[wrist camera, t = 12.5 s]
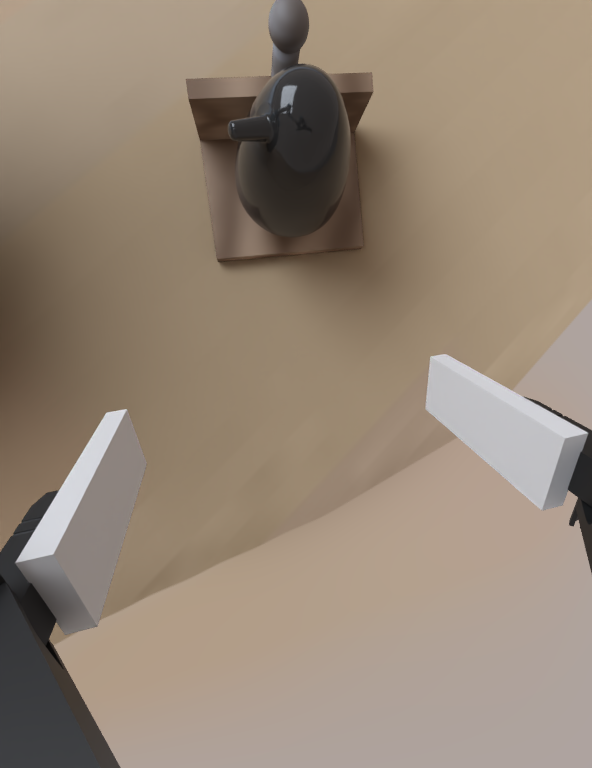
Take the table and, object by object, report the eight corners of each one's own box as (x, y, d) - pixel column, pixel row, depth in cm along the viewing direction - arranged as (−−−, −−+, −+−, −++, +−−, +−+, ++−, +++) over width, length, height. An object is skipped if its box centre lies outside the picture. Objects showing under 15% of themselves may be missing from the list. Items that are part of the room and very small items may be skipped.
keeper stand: (218, 261, 36) (195, 212, 23) (198, 124, 34) (160, -20, 21) (360, 248, 38) (419, 195, 24) (349, 117, 36) (406, -21, 22)
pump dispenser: (219, 165, 34) (191, 25, 19) (313, 131, 35) (356, -30, 20) (258, 262, 36) (259, 205, 21) (347, 228, 36) (411, 148, 21)
